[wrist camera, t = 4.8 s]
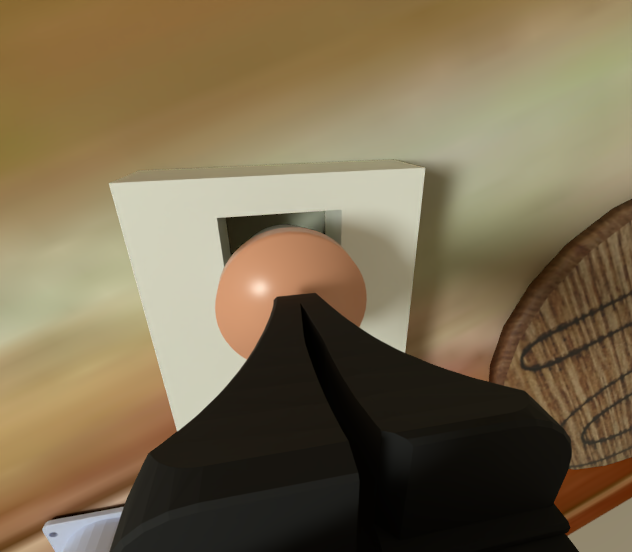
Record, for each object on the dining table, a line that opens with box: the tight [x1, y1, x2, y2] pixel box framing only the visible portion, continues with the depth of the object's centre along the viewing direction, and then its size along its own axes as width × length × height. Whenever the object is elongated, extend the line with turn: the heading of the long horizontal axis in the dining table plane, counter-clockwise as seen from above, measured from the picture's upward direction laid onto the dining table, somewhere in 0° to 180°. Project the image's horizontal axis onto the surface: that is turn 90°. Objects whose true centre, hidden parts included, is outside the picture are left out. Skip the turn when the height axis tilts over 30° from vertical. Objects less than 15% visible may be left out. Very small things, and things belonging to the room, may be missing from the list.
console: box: [109, 159, 425, 431], centre depth 19 cm, size 20×12×4 cm, turn 1°
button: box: [215, 224, 367, 359], centre depth 13 cm, size 5×5×4 cm
